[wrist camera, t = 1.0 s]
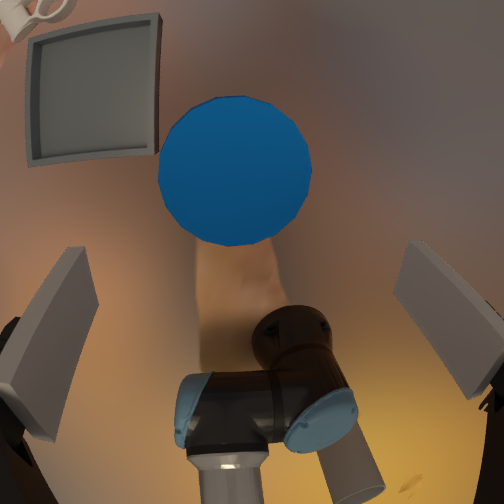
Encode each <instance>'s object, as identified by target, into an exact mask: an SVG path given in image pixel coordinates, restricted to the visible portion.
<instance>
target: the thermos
mask: <svg viewBox="0 0 504 504" xmlns="http://www.w3.org/2000/svg"><path fill="white" fill-rule="evenodd" d="M311 173H312V167H311V162H310V156H309V151H308V145H307V143H306V141H305V140H304V138H303V137H302V135H301V133H300V131H299V130H298V128H297V126H296V125H295V124H294V122H293V121H292V120H291V119H289V118H288V117H287V116H286V115H284V114H283V113H282V112H281V111H279V110H278V109H277V108H275V107H274V106H273V105H271V104H269V103H266V102H263V101H260V100H256V99H253V98H250V97H247V96H226V97H216V98H213V99H211V100H209V101H206V102H204V103H202V104H199V105H197V106H195V107H193V108H191V109H190V110H189V111H188V112H187V113H186V114H185V115H184V116H183V117H182V118H181V119H180V120H179V121H178V122H177V123H176V124H175V125H174V126H173V127H172V128H171V130H170V132H169V134H168V136H167V138H166V141H165V143H164V145H163V147H162V150H161V152H160V159H159V173H158V183H159V187H160V190H161V193H162V196H163V200H164V203H165V206H166V208H167V209H168V210H169V212H170V213H171V214H172V216H173V217H174V218H175V219H176V221H177V222H178V223H179V225H180V226H181V227H182V228H184V229H185V230H187V231H189V232H190V233H192V234H193V235H195V236H196V237H198V238H199V239H201V240H203V241H206V242H211V243H215V244H219V245H223V246H239V245H250V244H255V243H257V242H259V241H261V240H264V239H266V238H268V237H271V236H273V235H275V234H277V233H278V232H279V231H280V230H281V229H282V228H284V227H285V226H286V225H287V224H288V223H289V222H290V221H291V220H293V218H295V216H296V215H297V213H298V211H299V209H300V208H301V206H302V204H303V202H304V200H305V199H306V197H307V195H308V190H309V184H310V178H311Z"/></svg>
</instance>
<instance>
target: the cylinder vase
mask: <svg viewBox="0 0 504 504" xmlns="http://www.w3.org/2000/svg"><path fill="white" fill-rule="evenodd" d="M317 454H318V457H319V461H320V464H321V467H322V470H323V473H324V476H325V480H326V483H327V486H328V489H329V492H330V495H331V498H332V502H333V504H362V503H364V502H366V501H369V500H371V499H373V498H374V497H376V496H378V495H379V494H381V493H382V492H383V491H384V490H385V489H386V486H385V483H384V481H383V479H382V477H381V474H380V472H379V470H378V467H377V465H376V463H375V460H374V458H373V456H372V453H371V451H370V449H369V447H368V444H367V442H366V440H365V437H364V436H363V433H362V431H361V429H360V426H359V424H358V422H357V420H356V422H355V424H354V426H353V427H352V429H351V430H350V431H349V432H348V433H347V434H346V435H345V436H344V437H342V438H341V439H339V440H338V441H337V442H335V443H333V444H332V445H330V446H328V447H326V448H323V449H321V450H318V451H317Z"/></svg>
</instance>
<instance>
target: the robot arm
mask: <svg viewBox="0 0 504 504" xmlns="http://www.w3.org/2000/svg"><path fill="white" fill-rule="evenodd" d="M393 293H394V295H395V296H396V297H397V299H398V300H399V301H400V303H401V304H402V305H403V307H404V308H405V310H406V311H407V312H408V314H409V315H410V316H411V318H412V319H413V320H414V322H415V323H416V324H417V326H418V327H419V329H420V330H421V331H422V333H423V334H424V336H425V337H426V339H427V340H428V341H429V343H430V344H431V345H432V347H433V349H434V350H435V351H436V353H437V354H438V356H439V357H440V359H441V360H442V361H443V363H444V365H445V366H446V367H447V369H448V371H449V372H450V374H451V375H452V376H453V378H454V380H455V381H456V383H457V384H458V386H459V387H460V389H461V390H462V392H463V394H464V395H465V397H466V399H467V400H470V399H472V398H475V397H477V396H479V395H481V394H482V393H483V391H484V390H485V388H486V387H487V386H488V385H489V383H490V384H491V386H492V387H493V389H492V390H491V391H490V393H489V394H488V395H487V397H486V398H485V399H484V400H483V402H482V403H481V404H480V406H479V410H481V409H482V408H483V406H484V405H485V404H486V403H488V406H487V407H486V408H485V409H484V411H486V412H488V414H487V426H486V435H485V444H484V451H483V458H482V464H481V470H480V475H479V481H478V485H477V490H476V494H475V499H474V503H473V504H504V319H503V318H501V316H500V315H499V314H498V313H497V312H495V309H494V308H493V307H492V306H491V305H490V304H489V303H488V302H487V301H486V300H484V299H483V298H482V297H481V296H480V295H479V294H478V293H477V292H476V291H475V290H474V289H473V288H472V287H471V286H470V285H469V284H468V283H467V282H466V281H465V280H464V279H463V278H462V277H461V276H460V275H459V274H458V273H457V272H456V271H455V270H453V268H451V267H450V266H449V265H448V264H447V263H446V262H445V261H444V260H443V259H442V258H441V257H440V256H439V255H438V254H436V253H435V252H434V251H433V250H432V249H431V248H430V247H429V246H428V245H426V244H425V243H424V242H423V241H422V240H411V241H410V240H409V241H408V245H407V248H406V252H405V256H404V259H403V262H402V266H401V269H400V272H399V276H398V280H397V282H396V285H395V288H394V291H393ZM98 306H99V303H98V299H97V295H96V292H95V288H94V284H93V280H92V276H91V272H90V267H89V263H88V259H87V254H86V249H85V247H84V246H83V247H82V246H81V247H68V248H67V249H66V250H65V252H64V253H63V254H62V256H61V257H60V258H59V260H58V261H57V263H56V264H55V266H54V267H53V268H52V270H51V271H50V273H49V274H48V276H47V277H46V279H45V280H44V282H43V283H42V285H41V286H40V288H39V289H38V291H37V293H36V294H35V296H34V297H33V299H32V300H31V302H30V304H29V305H28V307H27V308H26V310H25V312H24V313H23V315H22V317H15V318H14V319H13V320H12V321H10V322H9V323H8V324H7V325H6V326H5V327H4V329H3V331H2V332H1V334H0V504H58V502H57V500H56V498H55V497H54V495H53V493H52V491H51V490H50V488H49V486H48V484H47V482H46V481H45V479H44V477H43V475H42V473H41V471H40V469H39V467H38V465H37V463H36V461H35V459H34V457H33V455H32V453H31V451H30V448H29V446H28V444H27V442H26V441H25V439H24V438H23V434H24V430H25V428H26V429H27V431H28V432H29V433H30V434H31V435H32V436H33V438H35V439H39V440H44V441H48V442H53V443H55V440H56V436H57V432H58V428H59V424H60V420H61V416H62V413H63V409H64V406H65V402H66V399H67V395H68V392H69V388H70V385H71V382H72V379H73V376H74V373H75V370H76V366H77V363H78V360H79V357H80V354H81V352H82V349H83V346H84V343H85V340H86V338H87V335H88V332H89V329H90V327H91V324H92V321H93V319H94V316H95V314H96V311H97V309H98ZM252 347H253V352H254V355H255V358H256V360H257V361H258V363H259V364H260V365H261V366H262V368H263V369H264V370H259V371H243V372H214V371H211V372H210V373H200V374H191V375H188V376H186V377H185V378H184V379H183V380H182V382H181V384H180V387H179V391H178V395H177V400H176V408H175V418H174V426H175V434H174V437H175V443H176V445H177V446H178V447H180V448H182V449H185V448H186V453H187V460H189V461H190V462H191V463H192V464H193V465H194V466H195V467H196V468H197V469H198V471H199V485H200V496H201V504H264V498H263V491H262V481H261V473H260V466H261V464H262V462H263V461H264V460H265V459H266V458H267V456H269V449H268V444H269V443H278V442H284V444H285V446H286V447H287V448H288V449H289V450H290V451H291V452H294V453H295V452H297V453H310V452H314V451H318V450H321V449H323V448H326V447H328V446H330V445H332V444H333V443H335V442H337V441H338V440H339V439H341V438H342V437H344V436H345V435H346V434H347V433H348V432H349V431H350V430H351V429H352V427H353V426H354V424H355V422H356V420H357V418H358V407H357V404H356V401H355V398H354V395H353V391H352V390H351V389H350V387H349V385H348V383H347V381H346V379H345V377H344V375H343V373H342V371H341V369H340V367H339V365H338V363H337V361H336V359H335V357H334V355H333V352H332V332H331V328H330V325H329V323H328V321H327V320H326V318H325V317H324V315H323V314H322V313H321V312H320V311H318V310H317V309H315V308H312V307H309V306H303V305H293V306H287V307H284V308H281V309H278V310H276V311H274V312H272V313H270V314H269V315H267V316H266V317H265V318H264V319H263V320H262V321H261V322H260V323H259V324H258V325H257V327H256V329H255V331H254V333H253V336H252Z"/></svg>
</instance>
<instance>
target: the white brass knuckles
mask: <svg viewBox="0 0 504 504" xmlns="http://www.w3.org/2000/svg"><path fill="white" fill-rule="evenodd" d="M33 1H34V0H0V20H1V24H2V25H4V27H5V29H6V30H7V32H8V34H9V35H10V37H11V40H12V42H14V43H18V42H20V41H21V40H22V39H24V38H25V37H26V36H27V35H28V34H29V33H30V32H31V31H32V30H33V28H35V27H36V26H37V25H38V24H39V23H41V22H44V21H46V22H48V23H57V22H60V21H62V20H64V19H65V18H66V17H68V16H69V15H70V14H71V13H72V11H73V10H74V8H75V6H76V3H77V0H64V2H63V4H62V6H61V7H60V8H59V9H58V10H57V11H55V12H54V13H52V14H50V15H48V16H47V12H48V9H49V8H50V6H51V5H52V4H53V3H55V2H56V1H58V0H38V4H37V6H36V10H35V13H34V14H33V15H32V16H30V15H29V13H28V12H27V10H26V9H25V8H26V7H27V6H28V5H29V4H30V3H31V2H33Z"/></svg>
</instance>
